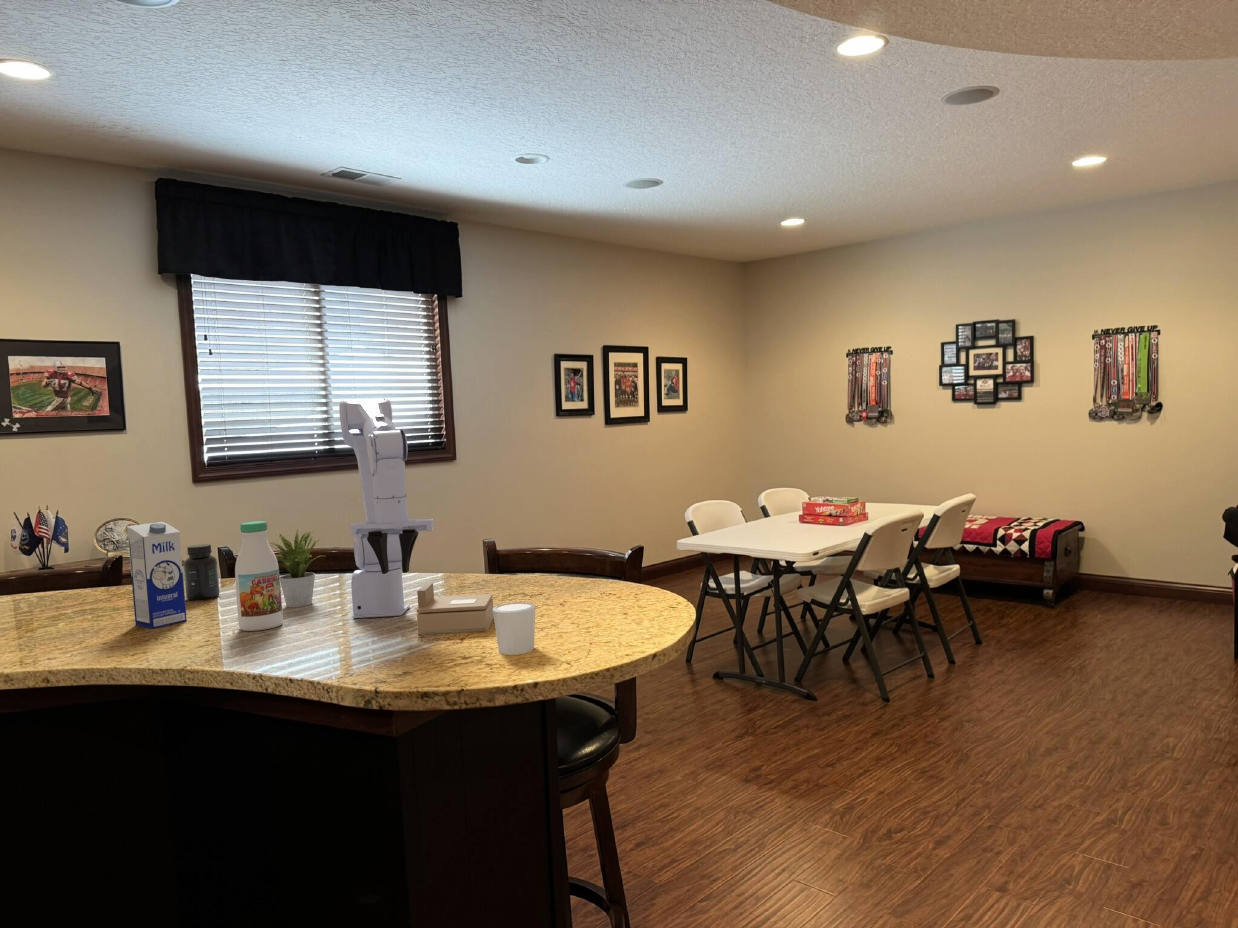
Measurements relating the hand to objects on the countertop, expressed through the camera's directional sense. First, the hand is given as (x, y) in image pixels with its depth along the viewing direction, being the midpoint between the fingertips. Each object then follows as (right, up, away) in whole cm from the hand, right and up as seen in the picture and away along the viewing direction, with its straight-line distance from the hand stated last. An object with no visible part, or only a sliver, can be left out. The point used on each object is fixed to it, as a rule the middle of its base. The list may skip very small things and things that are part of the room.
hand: (395, 572), depth 150 cm
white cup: (+24, -10, -17) cm, 31 cm away
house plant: (-28, -11, +28) cm, 41 cm away
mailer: (+11, -10, +1) cm, 15 cm away
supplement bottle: (-54, -11, +40) cm, 68 cm away
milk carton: (-51, -12, +16) cm, 55 cm away
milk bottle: (-28, -12, +8) cm, 31 cm away
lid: (+11, -6, +1) cm, 12 cm away
